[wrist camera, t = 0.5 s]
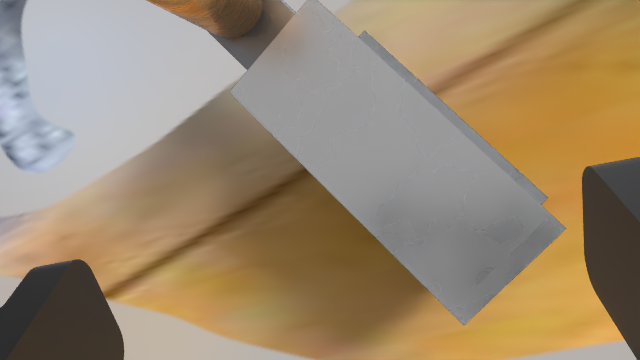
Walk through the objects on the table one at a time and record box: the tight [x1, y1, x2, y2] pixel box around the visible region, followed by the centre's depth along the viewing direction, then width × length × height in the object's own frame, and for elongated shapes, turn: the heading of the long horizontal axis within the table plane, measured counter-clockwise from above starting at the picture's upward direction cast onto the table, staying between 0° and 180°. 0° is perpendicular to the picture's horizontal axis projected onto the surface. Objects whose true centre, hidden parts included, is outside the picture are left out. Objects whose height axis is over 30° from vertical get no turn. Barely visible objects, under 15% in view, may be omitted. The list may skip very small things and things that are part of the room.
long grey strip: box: [147, 0, 296, 70], centre depth 22 cm, size 3×20×11 cm, turn 47°
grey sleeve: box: [229, 0, 566, 325], centre depth 28 cm, size 6×13×10 cm, turn 47°
